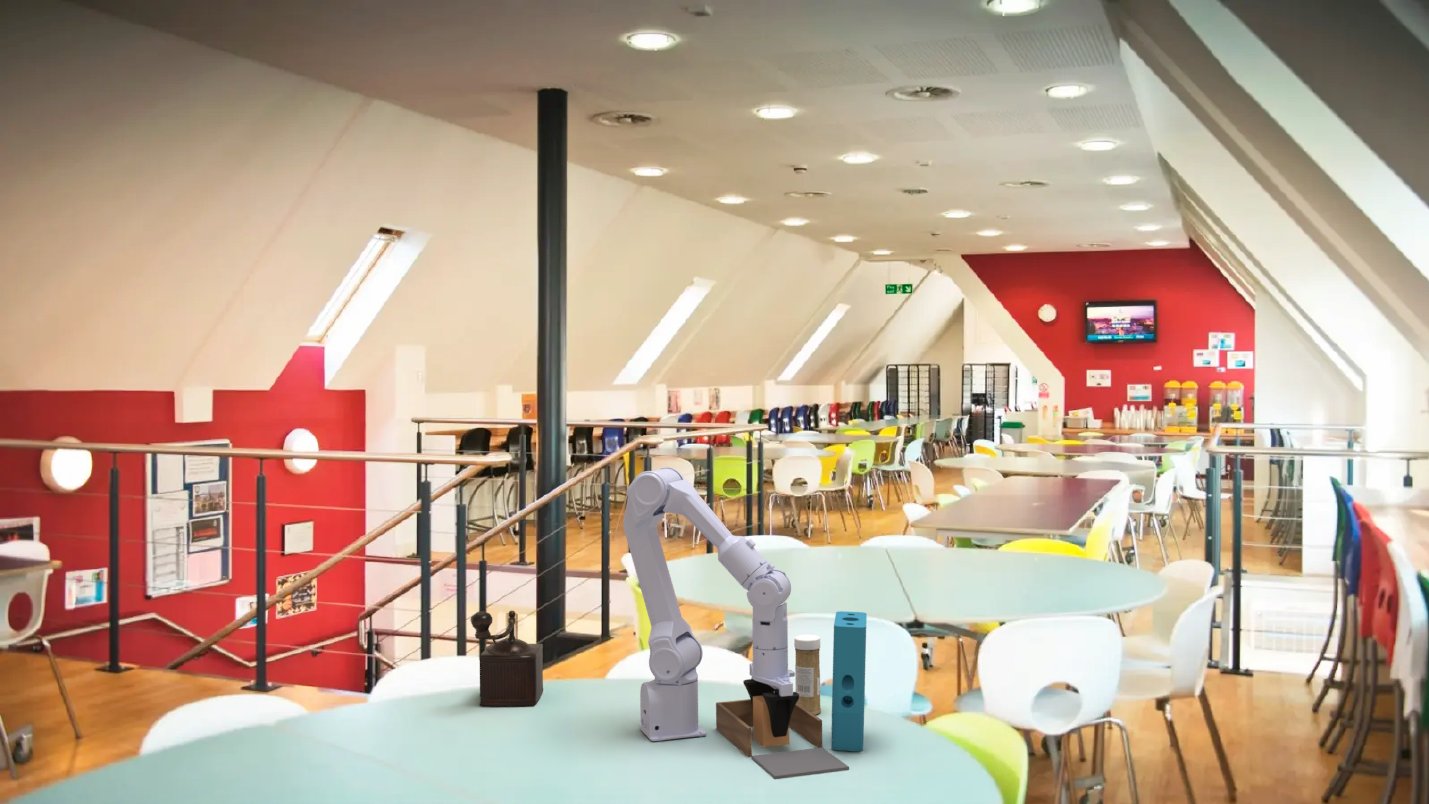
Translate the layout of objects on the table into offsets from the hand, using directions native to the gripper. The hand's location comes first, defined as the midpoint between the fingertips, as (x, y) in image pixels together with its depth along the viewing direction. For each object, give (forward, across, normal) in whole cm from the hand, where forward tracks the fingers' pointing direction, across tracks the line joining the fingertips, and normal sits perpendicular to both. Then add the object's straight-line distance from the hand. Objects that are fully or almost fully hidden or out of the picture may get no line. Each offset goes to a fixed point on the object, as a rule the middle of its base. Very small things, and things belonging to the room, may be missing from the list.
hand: (771, 729), depth 190 cm
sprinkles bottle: (+2, +13, -12) cm, 18 cm away
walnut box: (+2, +1, 0) cm, 2 cm away
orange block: (+2, 0, 0) cm, 2 cm away
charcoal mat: (+2, -12, 0) cm, 12 cm away
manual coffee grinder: (+2, +38, +37) cm, 53 cm away
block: (+2, -5, -11) cm, 13 cm away
